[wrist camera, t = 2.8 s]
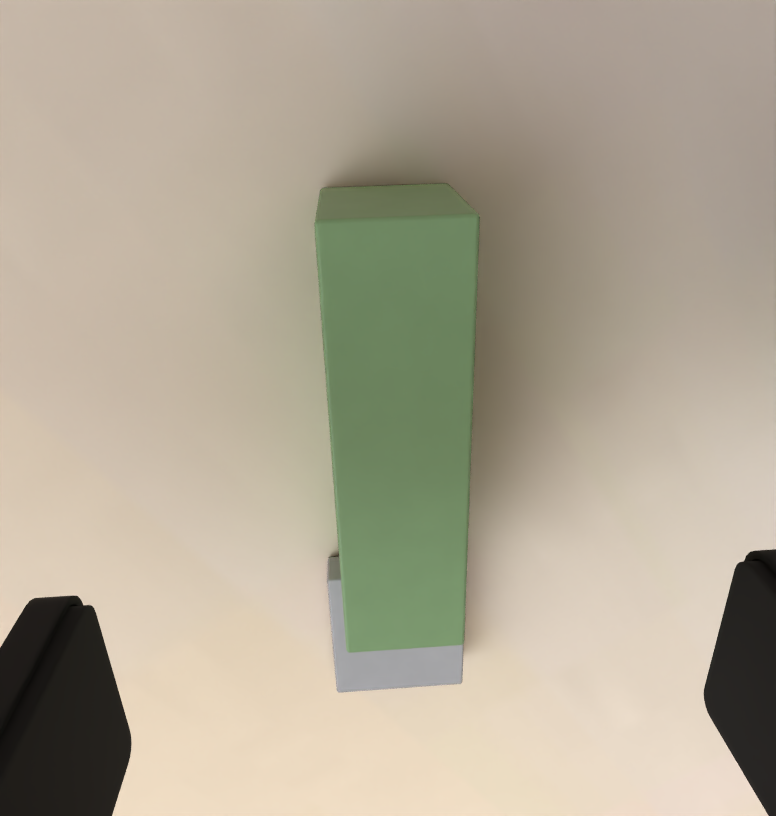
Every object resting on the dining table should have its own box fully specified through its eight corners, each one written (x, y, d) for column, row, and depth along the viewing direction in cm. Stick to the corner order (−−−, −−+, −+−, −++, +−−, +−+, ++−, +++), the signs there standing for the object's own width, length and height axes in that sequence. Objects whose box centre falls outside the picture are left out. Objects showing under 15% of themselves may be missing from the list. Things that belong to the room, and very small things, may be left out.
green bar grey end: (457, 658, 21) (478, 764, 18) (336, 667, 21) (336, 775, 17) (472, 181, 14) (509, 212, 11) (296, 188, 14) (283, 220, 11)
